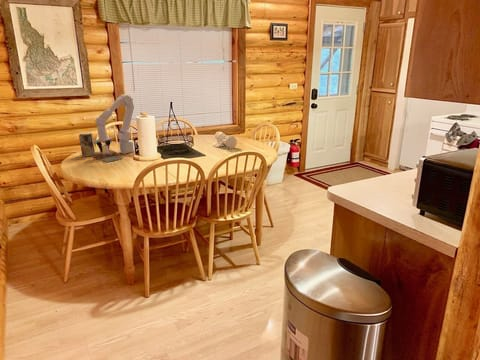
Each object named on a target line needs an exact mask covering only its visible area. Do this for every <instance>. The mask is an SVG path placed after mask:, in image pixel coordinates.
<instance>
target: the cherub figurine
mask: <svg viewBox="0 0 480 360" xmlns="http://www.w3.org/2000/svg"><path fill="white" fill-rule="evenodd" d="M214 139H215V140H216V142H214V143H212V146H213V147H215V148H220V147H221V146H223V145H224V146H225V147H226V148H228V149H230V150H231V149H235V148H236V146H237V145H238V143H237V142H238V139H237V138H236V136H234V135H230V136H229V135H227V134H225V133H224V132H222V131H216V133H215V134H214Z"/></svg>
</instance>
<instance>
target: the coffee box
mask: <svg viewBox="0 0 480 360" xmlns="http://www.w3.org/2000/svg"><path fill="white" fill-rule="evenodd" d="M93 137H94V136H93V133H80V134H78V140H79V145H80V149H81V156H82V157H94V156H93V153H94V152H96V149H95V144H94V143H93V141H94V138H93Z"/></svg>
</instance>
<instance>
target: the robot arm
mask: <svg viewBox="0 0 480 360" xmlns="http://www.w3.org/2000/svg"><path fill="white" fill-rule="evenodd" d="M133 100H134V99H133V98H132V96H130V95H128V94H125V93H122V94H120V95H119V96H118V97H117V98H116V99H115V101H114V102H113V103H112V104H111V106H110V107H109V108H107V109H103V112H102V113H101V114H99V115H98V117H96V118H95V120H94V122H95V124H96V127H97V128H96V129H97V136H98V139H95V140H94V139H93V143H94V145H95V144H96V145H97V147H98V148H99V152H102V145H103V143H105V145H108V150H110V146H111V143H112V142H111V141H114V137H108V135H107V130H106V129H107V127H106V124H107V121H108V120H109V119H110V118H111V117H112V116H113V112H114V111H115V110H116V109H118V107H120V106H121V105H124V107H125V113H124V116H123V121H122V124H121V125H122V126H121V128H120V129H119V132H117V135H116V136H117V138H118V141H119V149H120V150H118V152H117V153H120V154H123V155H125V154H129V153H133V152H135V150H134V144H133V141H132V140H131V136H130V133H131V132H130V128H131V127H130V126H131V122H132V118H133V113H134V109H135V107H134V101H133Z"/></svg>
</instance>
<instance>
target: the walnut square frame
mask: <svg viewBox="0 0 480 360" xmlns="http://www.w3.org/2000/svg"><path fill="white" fill-rule="evenodd" d="M118 155H119V154H118V152H117V151H115V150H112V149H109V153H105V154H102V153H101V152H100V151H95V152H94V153H93V156H92V157H94V158H96V159H98V160H101V159H103V158H108V157H113V156H118ZM118 157H119V156H118Z"/></svg>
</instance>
